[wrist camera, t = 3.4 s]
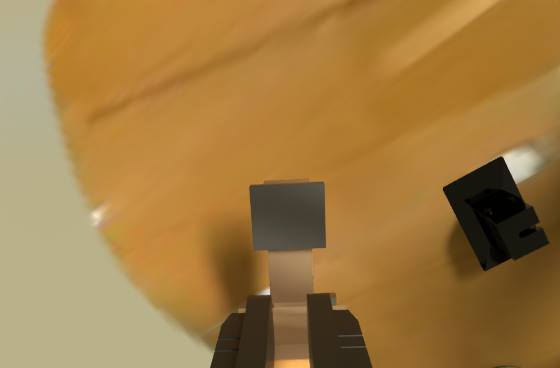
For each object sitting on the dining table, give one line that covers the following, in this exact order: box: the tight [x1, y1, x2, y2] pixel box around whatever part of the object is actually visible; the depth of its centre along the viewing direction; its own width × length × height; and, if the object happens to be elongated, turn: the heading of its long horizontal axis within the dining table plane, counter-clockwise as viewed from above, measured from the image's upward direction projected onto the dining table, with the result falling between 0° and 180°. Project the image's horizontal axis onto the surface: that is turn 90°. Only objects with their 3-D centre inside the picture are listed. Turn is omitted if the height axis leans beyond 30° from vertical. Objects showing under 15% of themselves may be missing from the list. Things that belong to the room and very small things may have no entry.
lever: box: [237, 179, 347, 360], centre depth 20 cm, size 17×6×8 cm, turn 3°
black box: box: [443, 157, 549, 271], centre depth 28 cm, size 12×7×5 cm, turn 32°
